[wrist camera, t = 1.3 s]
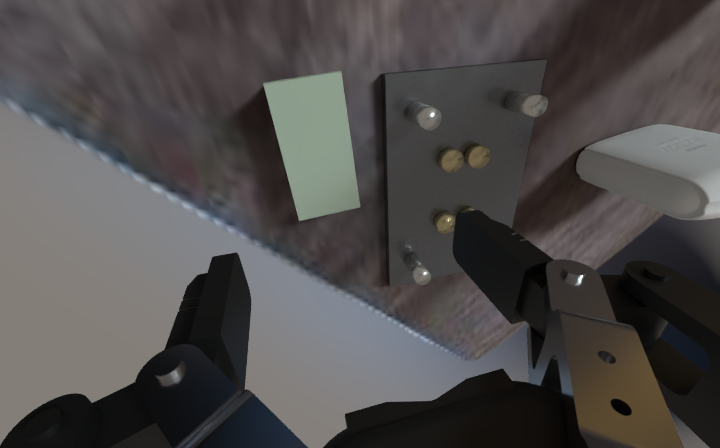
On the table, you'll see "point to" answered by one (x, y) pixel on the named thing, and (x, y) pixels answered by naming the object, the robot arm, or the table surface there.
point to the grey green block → (315, 142)
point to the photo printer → (659, 169)
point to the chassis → (452, 156)
